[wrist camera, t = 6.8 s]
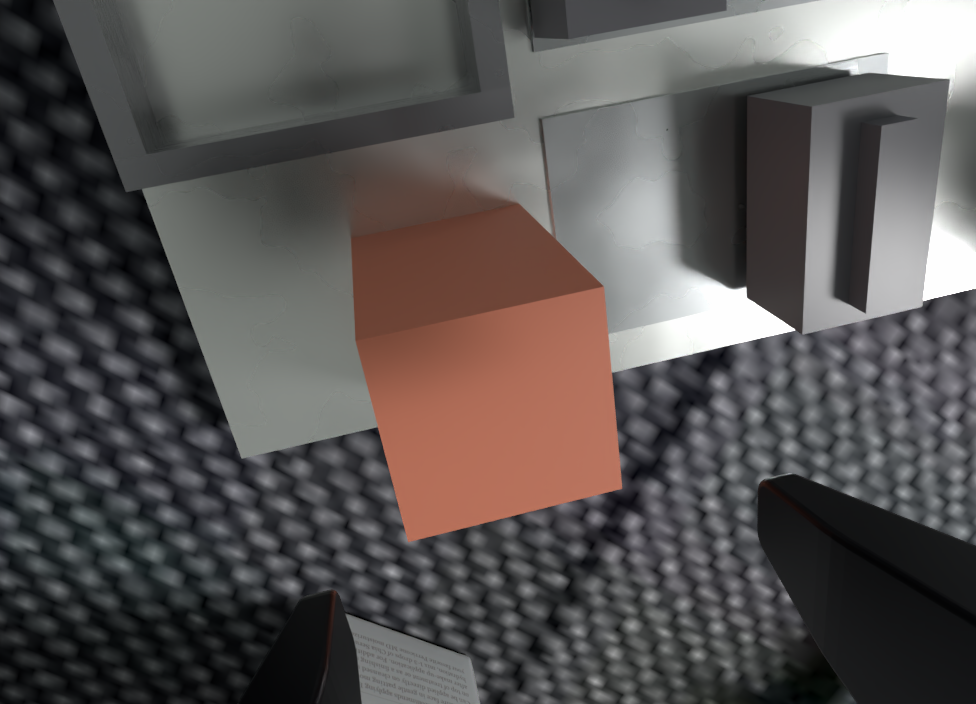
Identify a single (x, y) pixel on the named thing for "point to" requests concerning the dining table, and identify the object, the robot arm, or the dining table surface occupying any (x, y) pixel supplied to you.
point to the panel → (473, 161)
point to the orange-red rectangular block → (484, 368)
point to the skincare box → (409, 668)
